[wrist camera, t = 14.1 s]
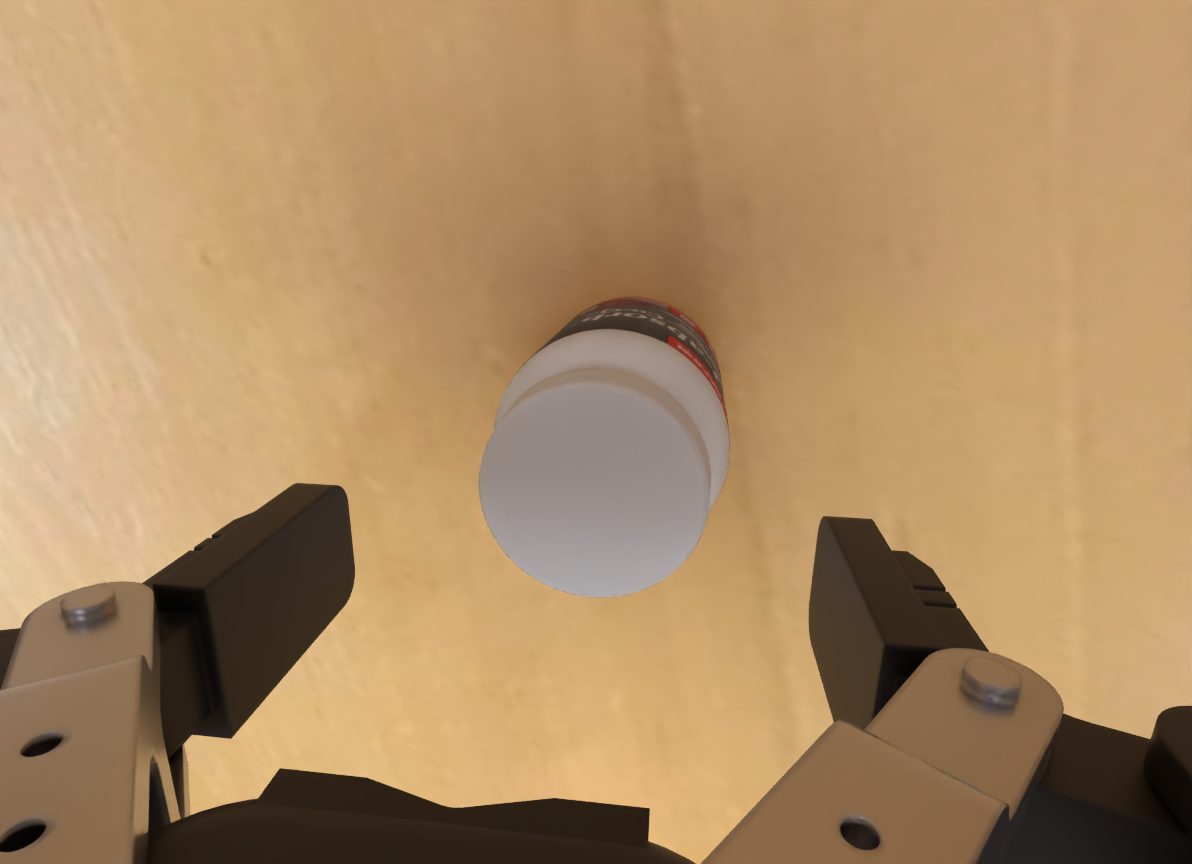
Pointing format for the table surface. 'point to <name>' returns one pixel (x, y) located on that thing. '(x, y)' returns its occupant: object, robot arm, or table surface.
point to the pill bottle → (608, 450)
